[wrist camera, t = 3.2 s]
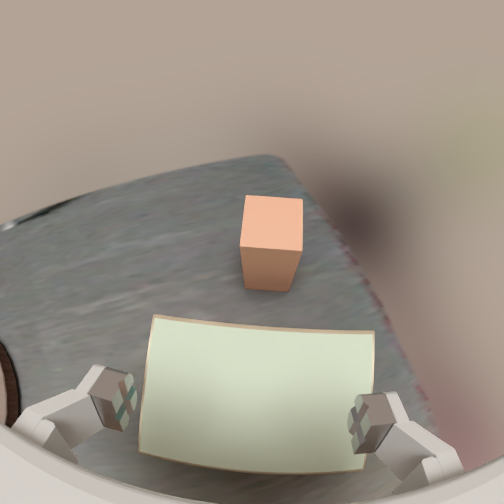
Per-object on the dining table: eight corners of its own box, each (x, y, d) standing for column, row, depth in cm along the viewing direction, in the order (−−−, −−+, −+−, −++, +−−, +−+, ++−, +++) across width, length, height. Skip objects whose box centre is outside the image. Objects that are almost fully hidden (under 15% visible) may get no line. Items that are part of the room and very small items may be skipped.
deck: (351, 460, 20) (366, 472, 16) (151, 444, 20) (134, 454, 17) (360, 337, 25) (377, 329, 21) (165, 322, 25) (151, 312, 22)
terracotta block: (288, 291, 27) (302, 250, 18) (245, 288, 27) (239, 246, 19) (290, 252, 28) (302, 199, 20) (249, 249, 28) (245, 195, 20)
